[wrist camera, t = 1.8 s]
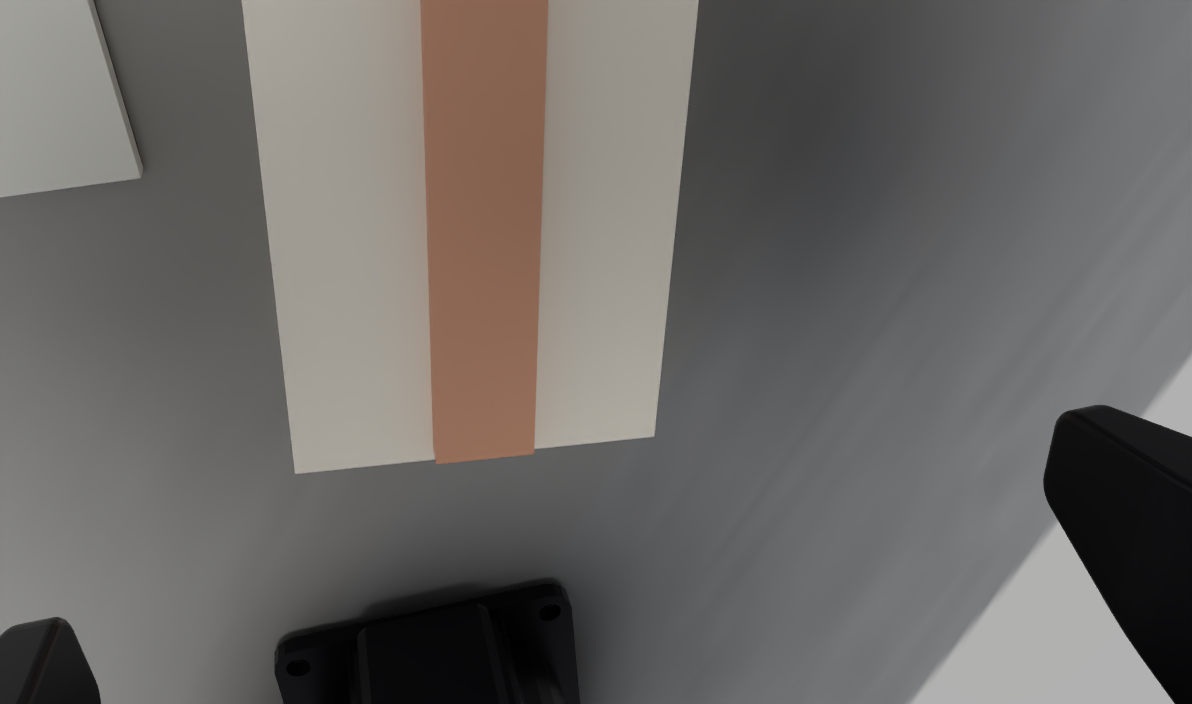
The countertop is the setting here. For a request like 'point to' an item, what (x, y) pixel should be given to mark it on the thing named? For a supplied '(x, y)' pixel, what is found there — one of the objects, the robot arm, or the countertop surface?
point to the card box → (469, 219)
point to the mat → (59, 100)
